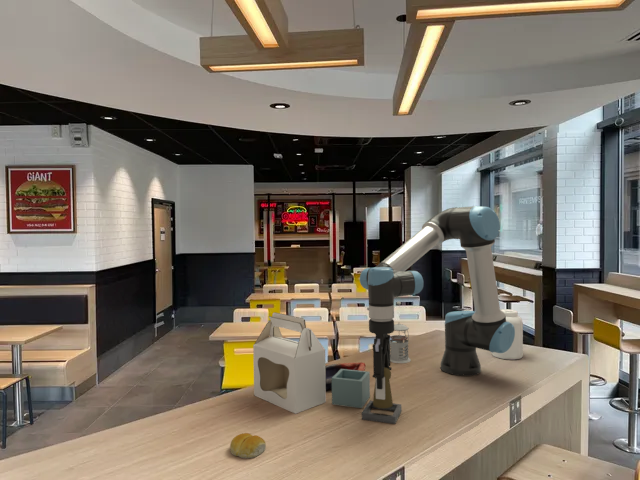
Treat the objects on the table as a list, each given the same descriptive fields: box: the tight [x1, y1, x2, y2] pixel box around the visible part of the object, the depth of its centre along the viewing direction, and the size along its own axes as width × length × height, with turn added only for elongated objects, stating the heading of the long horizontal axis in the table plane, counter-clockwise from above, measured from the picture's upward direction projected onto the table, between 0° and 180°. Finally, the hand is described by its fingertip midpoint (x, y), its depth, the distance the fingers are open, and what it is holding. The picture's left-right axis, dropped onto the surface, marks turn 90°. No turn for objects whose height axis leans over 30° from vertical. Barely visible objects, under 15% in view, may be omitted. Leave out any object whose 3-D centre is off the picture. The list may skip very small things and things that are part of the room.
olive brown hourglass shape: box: [372, 367, 393, 408], centre depth 137 cm, size 6×6×11 cm
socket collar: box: [361, 400, 403, 425], centre depth 137 cm, size 10×10×2 cm
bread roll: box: [229, 432, 267, 459], centre depth 116 cm, size 8×9×4 cm
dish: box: [325, 361, 367, 391], centre depth 167 cm, size 16×31×5 cm, turn 124°
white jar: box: [491, 308, 524, 360], centre depth 197 cm, size 12×12×20 cm
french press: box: [390, 301, 412, 364], centre depth 194 cm, size 10×12×25 cm
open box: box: [331, 369, 371, 409], centre depth 149 cm, size 10×10×8 cm
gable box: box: [252, 312, 327, 415], centre depth 151 cm, size 22×13×28 cm, turn 44°
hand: (382, 395), depth 137 cm, fingers closed on olive brown hourglass shape, 5 cm apart
